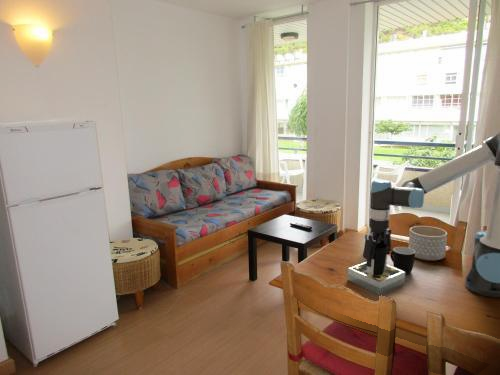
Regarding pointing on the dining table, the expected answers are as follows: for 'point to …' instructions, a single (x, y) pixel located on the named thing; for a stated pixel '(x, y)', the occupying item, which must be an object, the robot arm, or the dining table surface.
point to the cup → (379, 259)
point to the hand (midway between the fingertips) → (376, 270)
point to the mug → (403, 259)
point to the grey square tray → (376, 278)
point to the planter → (428, 242)
